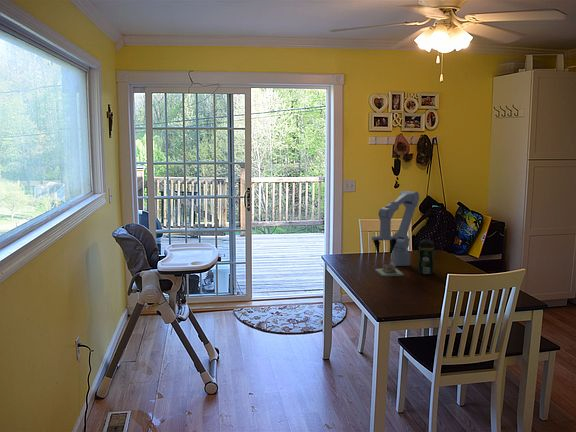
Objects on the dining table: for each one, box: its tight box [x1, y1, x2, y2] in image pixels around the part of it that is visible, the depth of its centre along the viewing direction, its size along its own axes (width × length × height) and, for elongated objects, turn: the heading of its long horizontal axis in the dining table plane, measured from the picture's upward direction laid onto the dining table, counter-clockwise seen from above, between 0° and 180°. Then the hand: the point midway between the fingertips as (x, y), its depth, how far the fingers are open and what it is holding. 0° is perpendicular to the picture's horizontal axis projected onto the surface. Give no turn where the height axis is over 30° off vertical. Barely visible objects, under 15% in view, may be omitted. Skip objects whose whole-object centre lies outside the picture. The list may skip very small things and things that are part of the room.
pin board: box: [375, 263, 405, 277], centre depth 281 cm, size 12×12×5 cm
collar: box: [382, 263, 397, 272], centre depth 281 cm, size 5×5×3 cm
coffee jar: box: [417, 238, 435, 276], centre depth 281 cm, size 10×8×19 cm
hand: (384, 252), depth 289 cm, fingers open, 7 cm apart
